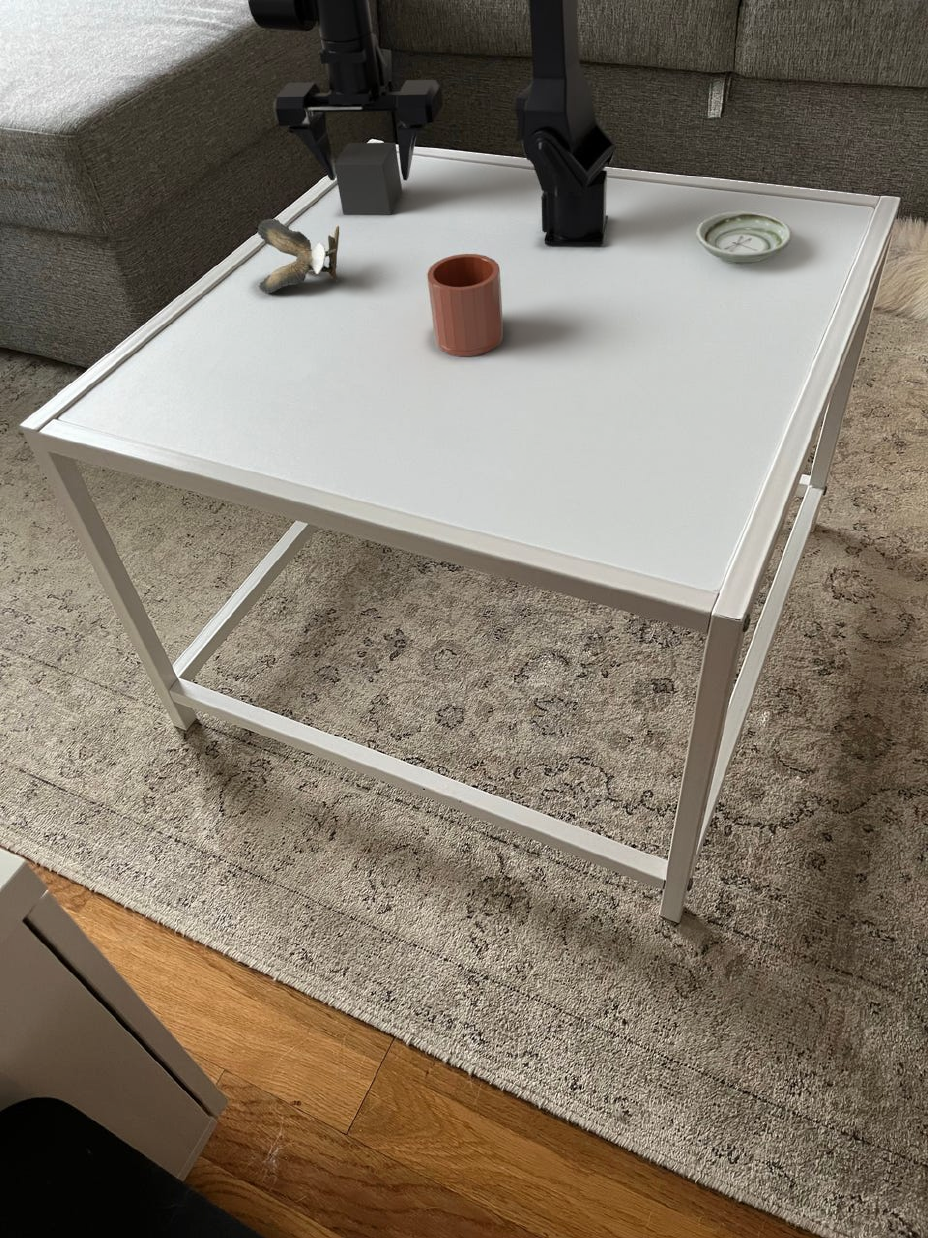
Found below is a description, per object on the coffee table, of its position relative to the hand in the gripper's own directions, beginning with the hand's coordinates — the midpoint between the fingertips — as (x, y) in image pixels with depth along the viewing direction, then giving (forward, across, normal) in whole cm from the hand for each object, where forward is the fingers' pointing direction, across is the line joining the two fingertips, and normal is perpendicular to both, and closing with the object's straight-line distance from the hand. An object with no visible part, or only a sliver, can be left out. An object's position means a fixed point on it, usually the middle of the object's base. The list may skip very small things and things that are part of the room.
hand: (369, 178), depth 113 cm
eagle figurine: (+3, +3, +19) cm, 20 cm away
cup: (+3, -18, +29) cm, 34 cm away
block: (+3, 0, 0) cm, 3 cm away
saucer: (+3, -44, +11) cm, 45 cm away
